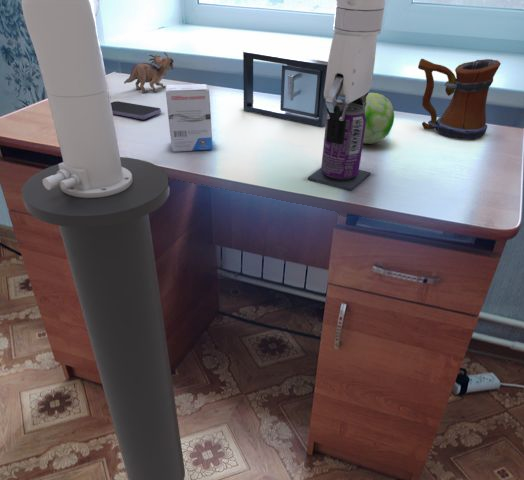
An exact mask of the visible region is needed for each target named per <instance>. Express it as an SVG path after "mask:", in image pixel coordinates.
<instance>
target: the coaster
mask: <svg viewBox="0 0 524 480" xmlns="http://www.w3.org/2000/svg"><path fill="white" fill-rule="evenodd" d="M371 174H372V173H371V171H367V170H362V169H359V172H358V174H357V175H356V176H354V177H351V178H349V179H344V180H339V179H333V178H330V177H328V176H327V175H326V174H324V173H323V172H322V171H321V167H320V168H319V169H318V170H316V171H315V172H313V173H312V174H310V175H309V176H308V177H307V181H312V182H316V183H319V184H324V185H327V186H331V187H334V188H339V189H342V190H346V191H349V192H350V191H351V192H352V191H353V190H354V189H355V188H356V187H358V186H359V185H360V184H361V183H362V182H364V181H365V180H366V179H367V178H368V177H369V176H371Z"/></svg>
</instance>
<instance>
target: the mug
mask: <svg viewBox="0 0 524 480" xmlns="http://www.w3.org/2000/svg"><path fill="white" fill-rule="evenodd" d="M500 66H501V62H500V61H499V60H498V59H491V58H486V59H476V60H474V61H469V62H463V63H461V64H459V65H457V66H456V68H455V69H454V71H455V73H454V72H453V71H452V70H451V69H450V68H448V67H447V66H445V65H442V64H438V63H434V62H431V61H429V60H427V59H424V58H420V60H419V62H418V66H417V69H419V70H421V71H423V72H424V74H425V81H426V82H425V83H426V84H425V85H426V86H425V90H424V94H423V96H422V102H421V105H422V107H423V109H424V110H426V112H428V114H429V115H430V120H429V121H428V122H426V121H422V122H421V125H422V128H423V129H424V130H435V131H436V133H438V135H440V136H444V137H447V138H451V139H459V140H467V141H468V140H470V141H474V140H478V139H481V138H482V137H483V136H484V135H485V134H486V132H487V129H488V124H486V122H487V118H486V115H487V114H486V107H487V100H488V95H489V94H488V93H489V90H490V88H491V85H493V82H494V77H495V75H496V73H497V72H498V70H499V68H500ZM433 72H438V73H440V74H443V75H445V76H446V77H447V81H446V82H444V87H445V89H444V90H445V93H446V95H447V96H448V97H450V96H451V95H452V97H451V100H450V102H449V105H448V106H447V108H446V109H445V111H443V113H442V115H441V116H439V117H438V115H437V111H436V109H435V107H434V105H433V104H432V103H431V99H432V96H433V93H434V88H435V79H434V76H433Z"/></svg>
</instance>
